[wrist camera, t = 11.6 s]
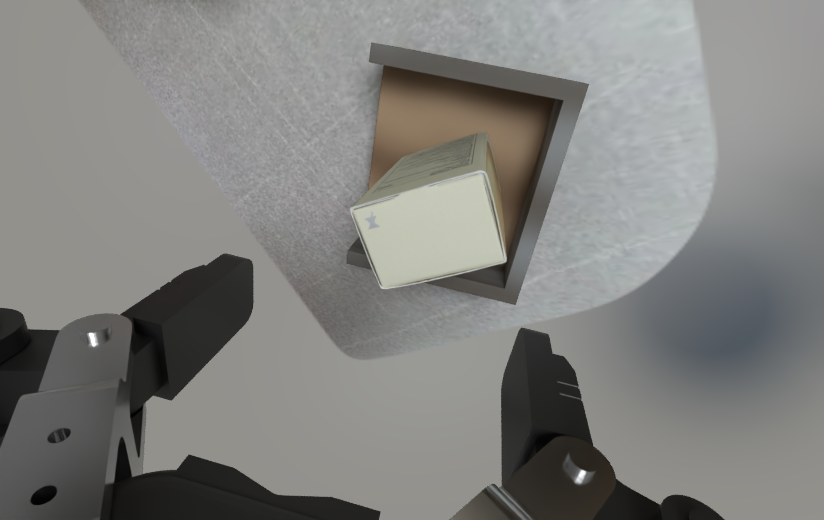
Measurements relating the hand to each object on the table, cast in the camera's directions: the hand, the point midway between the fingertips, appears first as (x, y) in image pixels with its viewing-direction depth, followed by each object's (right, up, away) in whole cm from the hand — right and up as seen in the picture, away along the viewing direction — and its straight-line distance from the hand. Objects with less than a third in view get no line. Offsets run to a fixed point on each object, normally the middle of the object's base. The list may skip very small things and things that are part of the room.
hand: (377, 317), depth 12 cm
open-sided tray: (+5, +9, +19) cm, 21 cm away
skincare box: (+4, +8, +17) cm, 19 cm away
